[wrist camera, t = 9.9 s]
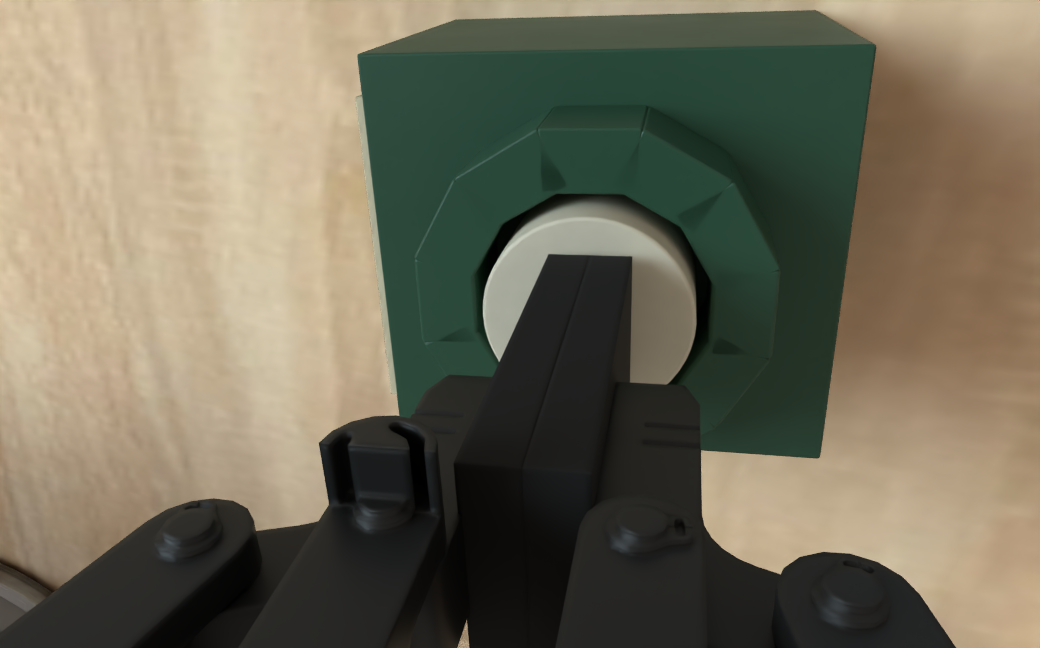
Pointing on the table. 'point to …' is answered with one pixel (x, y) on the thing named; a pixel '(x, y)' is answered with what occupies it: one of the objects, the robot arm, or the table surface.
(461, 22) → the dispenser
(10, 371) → the table surface
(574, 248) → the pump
